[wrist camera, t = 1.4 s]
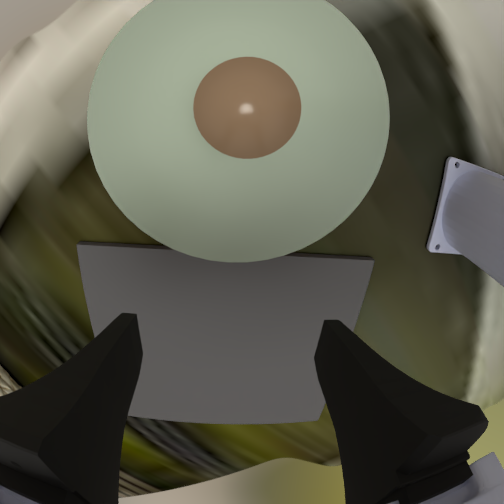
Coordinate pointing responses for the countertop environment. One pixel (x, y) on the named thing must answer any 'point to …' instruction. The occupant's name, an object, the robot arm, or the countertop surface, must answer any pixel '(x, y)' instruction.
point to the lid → (238, 124)
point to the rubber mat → (223, 328)
